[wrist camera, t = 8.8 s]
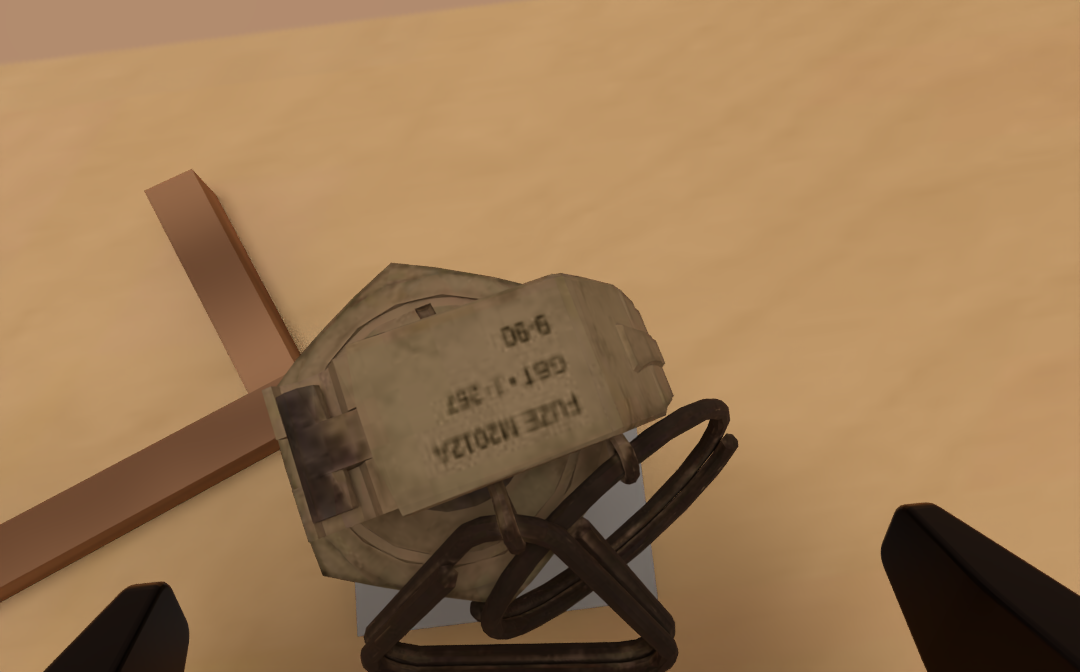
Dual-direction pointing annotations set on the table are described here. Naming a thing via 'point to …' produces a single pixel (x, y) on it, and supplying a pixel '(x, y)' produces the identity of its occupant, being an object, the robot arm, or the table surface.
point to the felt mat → (602, 516)
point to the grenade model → (488, 461)
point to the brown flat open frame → (198, 449)
